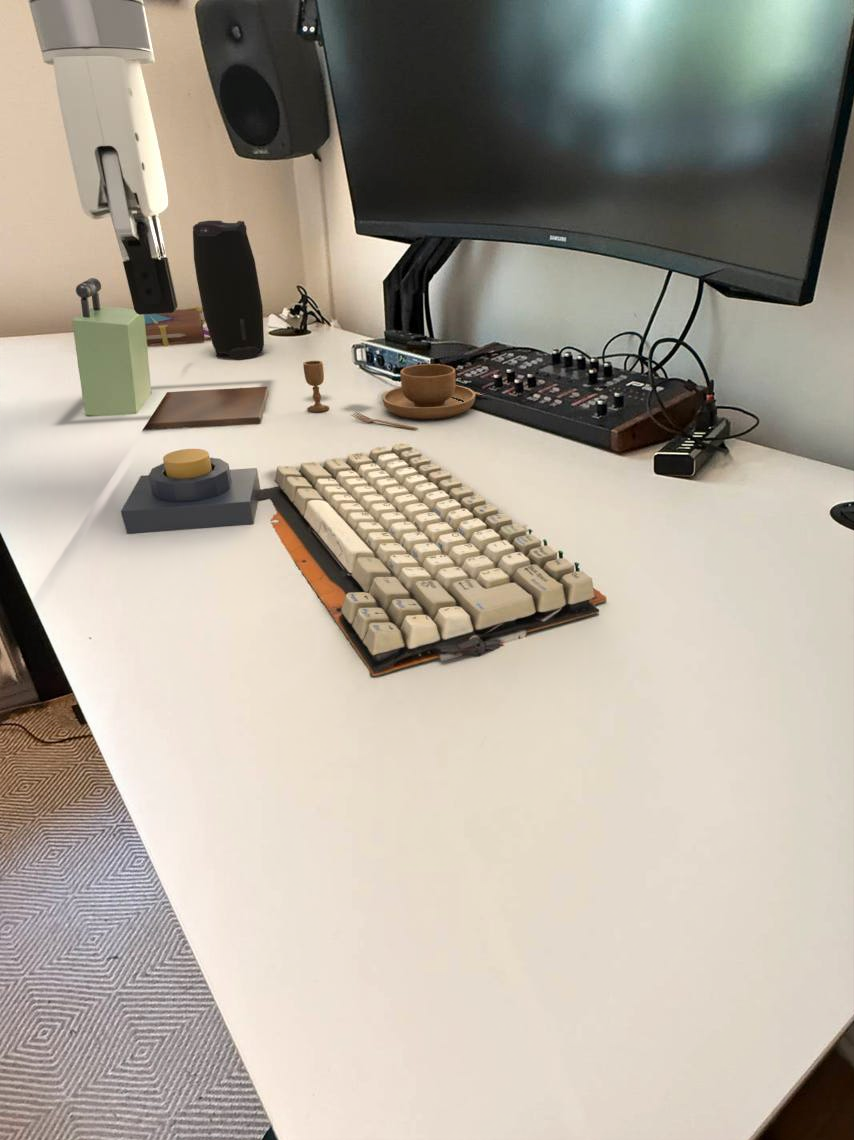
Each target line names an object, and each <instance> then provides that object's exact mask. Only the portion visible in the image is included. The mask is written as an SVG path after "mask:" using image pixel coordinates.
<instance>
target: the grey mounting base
mask: <svg viewBox="0 0 854 1140" xmlns="http://www.w3.org/2000/svg"><path fill="white" fill-rule="evenodd" d="M210 462H211V467H212V471H211V472H209V473H207V474H205V475H201V476H197V477H193V478H181V479H177V478H170V477H167V475H166V470H165V466H164V462H163V463H160V464H159V465H157V466H155V467H153V468H151V469H150V472H149V473H148V474H147V475H140V476H139V478H138V480H137V482H136V484H135V486H134V487H133V489H132V490H131V492H130V494H129V496H128V497H127V500H126V502H125V503H124V504H123V507H122V509H121V510H120V514H121V517H122V521H123V524H124V525H123V526H124V529H125V532H126V534H127V535H129V534H130V535H131V534H144V533H156V532H170V531H182V530H183V531H184V530H195V529H207V528H209V529H210V528H223V527H234V526H235V527H236V526H248V525H249V526H250V525H254V523H255V518H256V513H257V507H258V503H259V501H258V497H259V493H260V490H261V484H260V477H259V473H258V468H257V467H250V468H249V467H247V468H235V469H230V465H229V463H228V462H226V461H225V460H223V459H221V458H217V457H210Z"/></svg>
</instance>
